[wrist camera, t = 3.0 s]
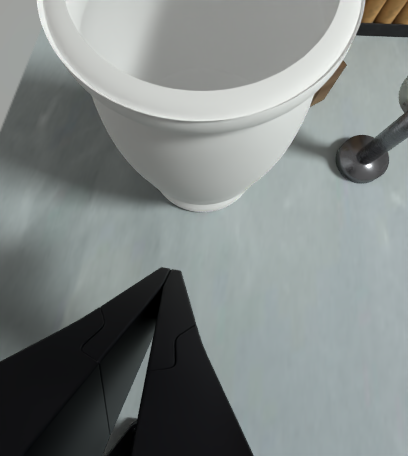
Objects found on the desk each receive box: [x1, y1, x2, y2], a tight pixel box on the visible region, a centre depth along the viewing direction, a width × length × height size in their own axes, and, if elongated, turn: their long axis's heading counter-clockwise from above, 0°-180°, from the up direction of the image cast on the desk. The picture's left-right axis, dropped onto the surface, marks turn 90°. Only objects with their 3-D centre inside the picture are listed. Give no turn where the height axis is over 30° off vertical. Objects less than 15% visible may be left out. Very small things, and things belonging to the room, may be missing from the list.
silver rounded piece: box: [336, 76, 408, 183], centre depth 18 cm, size 4×4×10 cm
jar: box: [37, 0, 365, 212], centre depth 16 cm, size 11×10×15 cm
